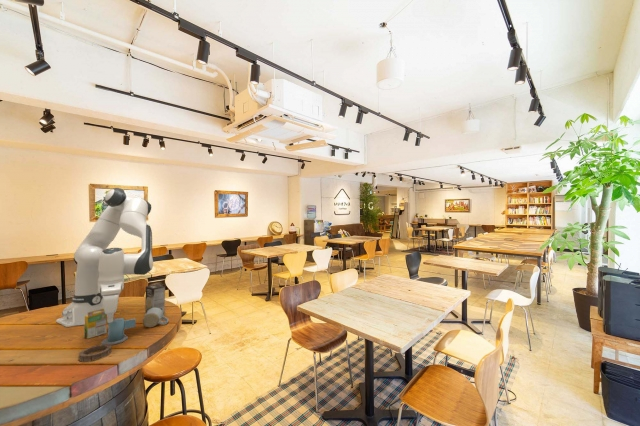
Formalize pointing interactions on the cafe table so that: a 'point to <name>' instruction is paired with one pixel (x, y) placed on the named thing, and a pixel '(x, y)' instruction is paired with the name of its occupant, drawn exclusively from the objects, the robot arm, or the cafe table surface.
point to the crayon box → (95, 324)
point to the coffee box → (155, 297)
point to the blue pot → (119, 328)
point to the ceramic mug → (154, 317)
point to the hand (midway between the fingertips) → (110, 318)
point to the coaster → (115, 341)
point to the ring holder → (91, 357)
